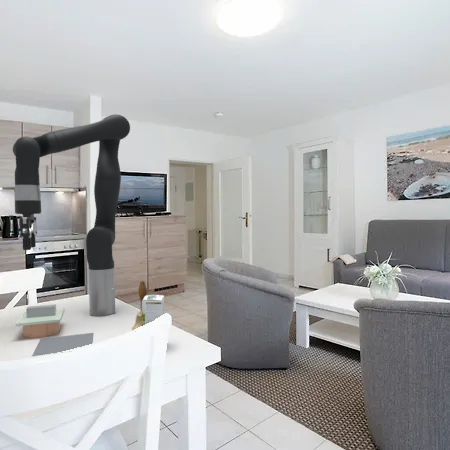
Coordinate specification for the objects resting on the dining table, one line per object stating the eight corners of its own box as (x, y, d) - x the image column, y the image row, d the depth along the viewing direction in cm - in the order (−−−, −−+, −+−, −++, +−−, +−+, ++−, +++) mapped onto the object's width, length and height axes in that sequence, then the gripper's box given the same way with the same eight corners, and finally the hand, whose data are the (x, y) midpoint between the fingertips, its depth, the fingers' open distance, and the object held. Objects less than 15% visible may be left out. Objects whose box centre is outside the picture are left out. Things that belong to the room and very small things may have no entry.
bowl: (61, 326, 116) (61, 312, 115) (57, 337, 106) (57, 321, 106) (27, 330, 112) (27, 315, 112) (20, 341, 103) (20, 324, 103)
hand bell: (132, 335, 107) (131, 285, 107) (129, 327, 115) (128, 280, 114) (158, 331, 111) (158, 282, 110) (154, 323, 118) (153, 278, 118)
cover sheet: (64, 311, 117) (64, 300, 116) (60, 321, 105) (59, 309, 105) (24, 314, 113) (24, 303, 112) (15, 326, 101) (15, 313, 101)
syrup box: (144, 343, 101) (143, 294, 100) (164, 342, 101) (164, 294, 101) (141, 351, 95) (140, 300, 94) (162, 350, 95) (162, 299, 95)
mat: (93, 334, 108) (93, 332, 108) (92, 350, 96) (92, 348, 96) (40, 340, 103) (40, 338, 103) (31, 358, 91) (31, 356, 91)
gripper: (37, 198, 107) (38, 250, 108) (43, 200, 120) (45, 246, 121) (9, 198, 104) (11, 251, 105) (19, 200, 118) (21, 247, 118)
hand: (29, 248), depth 113 cm, fingers open, 8 cm apart
